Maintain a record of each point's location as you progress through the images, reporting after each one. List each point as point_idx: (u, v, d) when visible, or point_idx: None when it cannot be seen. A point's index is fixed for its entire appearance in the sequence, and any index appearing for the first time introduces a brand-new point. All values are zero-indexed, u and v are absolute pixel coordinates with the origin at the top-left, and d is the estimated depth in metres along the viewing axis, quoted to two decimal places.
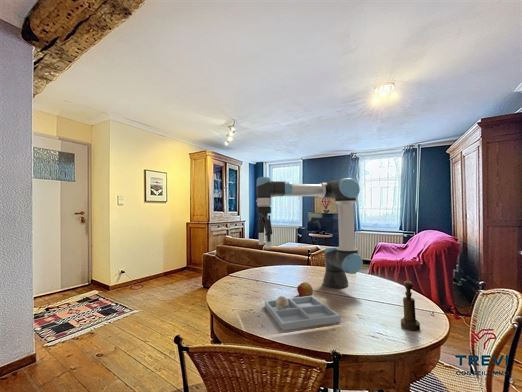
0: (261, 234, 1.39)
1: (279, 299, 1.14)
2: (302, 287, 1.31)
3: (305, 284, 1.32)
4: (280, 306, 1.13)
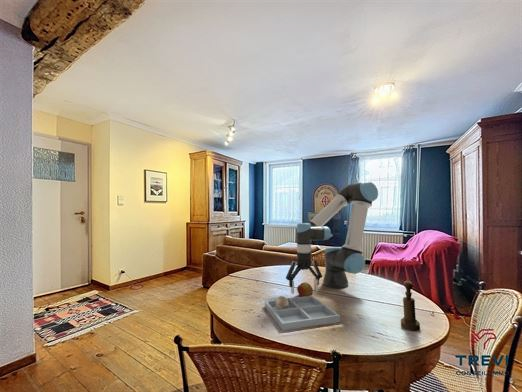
0: (315, 280, 1.36)
1: (279, 299, 1.14)
2: (302, 287, 1.31)
3: (305, 284, 1.32)
4: (280, 306, 1.13)
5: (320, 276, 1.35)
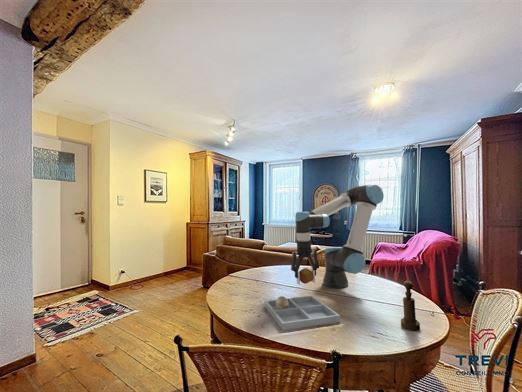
0: (312, 271, 1.36)
1: (279, 299, 1.14)
2: (303, 273, 1.32)
3: (305, 270, 1.33)
4: (280, 306, 1.13)
5: (317, 266, 1.35)
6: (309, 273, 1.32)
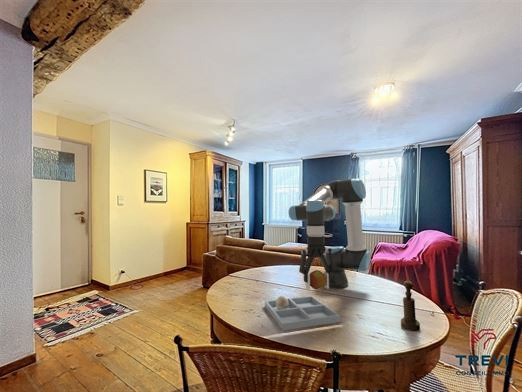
0: (325, 274, 1.09)
1: (279, 299, 1.14)
2: (314, 276, 1.06)
3: (317, 272, 1.07)
4: (280, 306, 1.13)
5: (331, 269, 1.09)
6: (322, 276, 1.05)
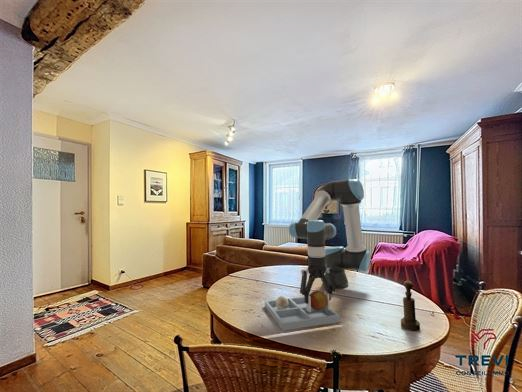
0: (326, 295, 1.09)
1: (279, 299, 1.14)
2: (314, 297, 1.05)
3: (318, 293, 1.06)
4: (280, 306, 1.13)
5: (332, 289, 1.08)
6: (323, 298, 1.05)
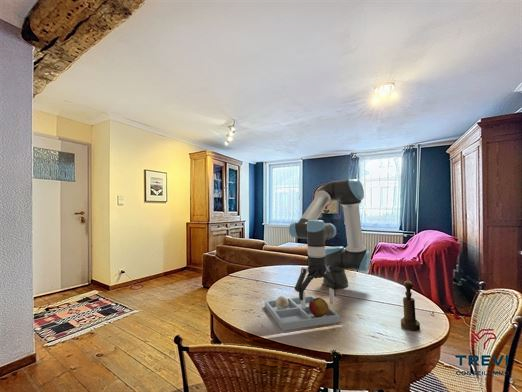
0: (330, 290, 1.09)
1: (279, 299, 1.14)
2: (315, 304, 1.05)
3: (319, 300, 1.06)
4: (280, 306, 1.13)
5: (337, 285, 1.09)
6: (324, 305, 1.05)
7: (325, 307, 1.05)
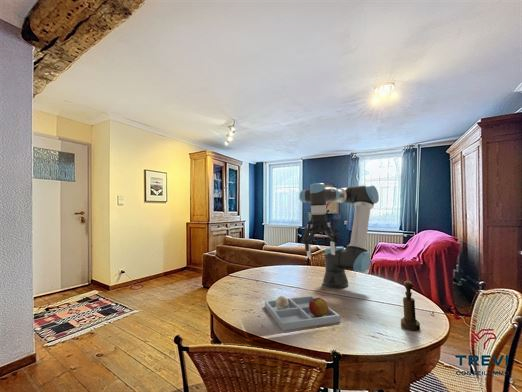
0: (331, 243, 1.28)
1: (279, 299, 1.14)
2: (315, 304, 1.05)
3: (319, 300, 1.06)
4: (280, 306, 1.13)
5: (337, 238, 1.28)
6: (324, 305, 1.05)
7: (325, 307, 1.05)
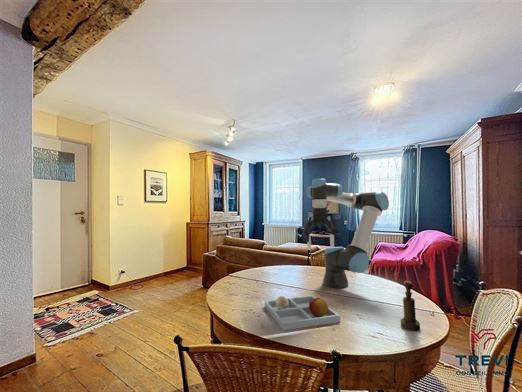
0: (331, 236, 1.35)
1: (279, 299, 1.14)
2: (315, 304, 1.05)
3: (319, 300, 1.06)
4: (280, 306, 1.13)
5: (336, 232, 1.35)
6: (324, 305, 1.05)
7: (325, 307, 1.05)
